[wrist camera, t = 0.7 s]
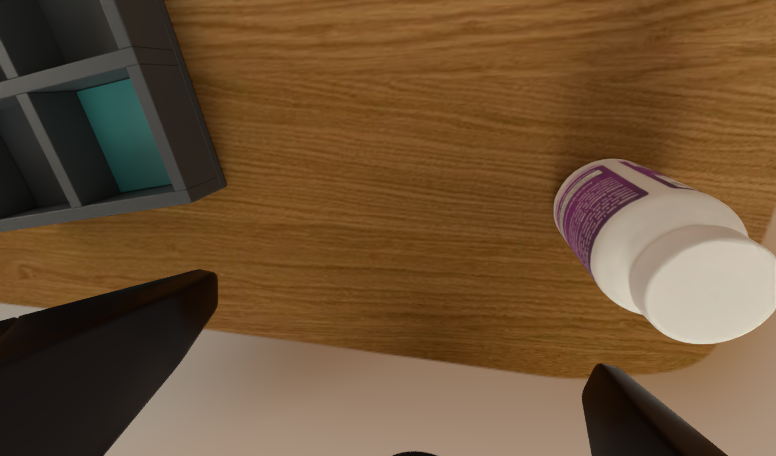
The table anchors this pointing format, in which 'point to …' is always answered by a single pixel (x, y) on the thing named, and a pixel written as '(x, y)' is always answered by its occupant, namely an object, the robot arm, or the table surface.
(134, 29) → the compartment tray
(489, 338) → the table surface
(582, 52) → the table surface
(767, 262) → the pill bottle
